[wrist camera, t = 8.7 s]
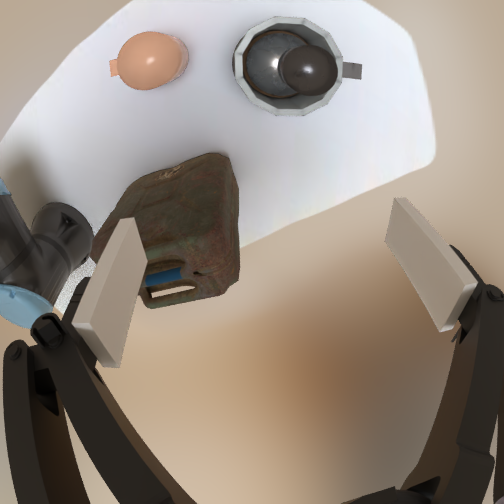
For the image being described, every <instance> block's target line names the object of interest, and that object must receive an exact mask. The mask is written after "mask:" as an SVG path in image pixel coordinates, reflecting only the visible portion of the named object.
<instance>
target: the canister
mask: <svg viewBox="0 0 504 504" xmlns="http://www.w3.org/2000/svg"><path fill="white" fill-rule="evenodd" d="M238 216H239V188H238V185H237V182H236V179H235V176H234V174H233V171H232V167H231V163H230V160H229V158H227V157H223V156H222V155H220V154H213V153H208V154H205V155H202V156H199V157H197V158H194V159H191V160H188V161H186V162H184V163H181V164H180V165H178V166H176V167H174V168H170V169H165V170H161V171H157V172H154V173H151V174H149V175H146V176H143V177H141V178H140V179H138V180H136V181H135V182H134V183H132V184H131V185H130V186H129V187H128V188H127V189H126V191H125V192H124V194H123V195H122V197H121V198H120V200H119V202H118V203H117V205H116V207H115V209H114V210H113V211H112V212H111V213H110V215H109V217H108V218H107V219H106V221H105V222H104V224H103V225H102V227H101V228H100V230H99V231H98V233H97V234H96V236H95V237H94V239H93V240H92V248H91V252H90V254H89V256H90V257H91V258H92V260H93V261H94V262H95V263H96V264H98V261H99V259H100V257H101V255H102V253H103V251H104V249H105V247H106V245H107V243H108V241H109V239H110V238H111V236H112V234H113V232H114V230H115V228H116V226H117V224H118V222H119V221H120V219H125V218H133V217H134V219H135V222H136V226H137V229H138V232H139V236H140V239H141V242H142V245H143V248H144V252H145V255H146V258H147V261H148V262H147V265H146V268H145V272H144V275H143V278H142V282H141V285H140V289H139V292H138V295H140V296H141V298H142V300H143V303H144V304H145V306H146V307H147V308H150V309H155V308H160V307H165V306H170V305H175V304H180V303H186V302H190V301H195V300H200V299H205V298H211V297H215V296H220V295H222V294H224V293H225V292H226V291H227V289H228V288H229V286H231V285H233V284H234V283H236V282H237V281H238V279H239V270H240V251H239V233H238ZM180 286H194V287H195V288H194V289H190V290H186V291H181V292H177V293H172V294H168V295H164V296H159V297H154V298H152V295H151V293H153V292H157V291H162V290H166V289H171V288H175V287H180Z"/></svg>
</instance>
